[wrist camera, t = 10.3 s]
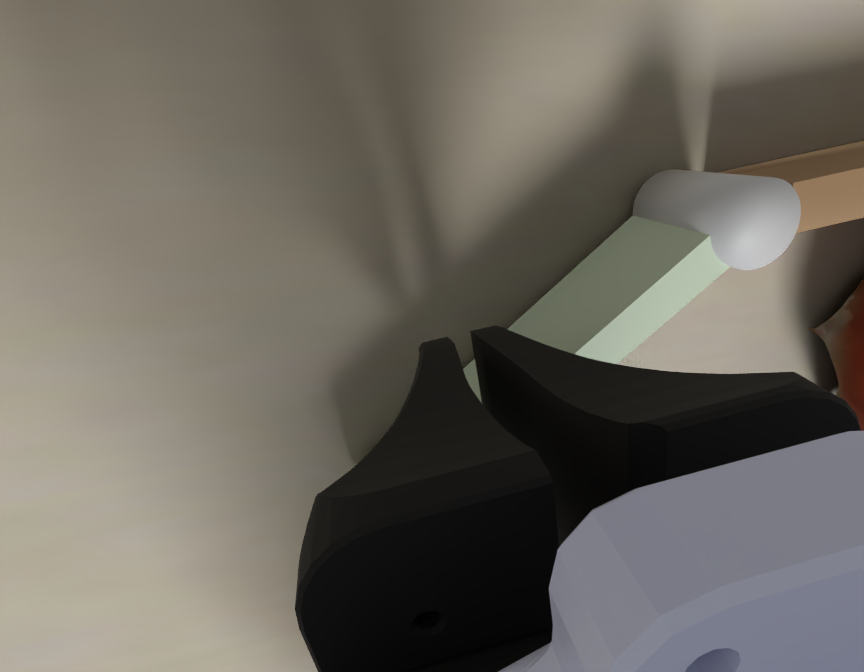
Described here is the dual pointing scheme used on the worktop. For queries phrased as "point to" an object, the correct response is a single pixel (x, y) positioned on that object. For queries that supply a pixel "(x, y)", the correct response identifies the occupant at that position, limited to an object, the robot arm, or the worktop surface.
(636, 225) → the gate
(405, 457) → the robot arm
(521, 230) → the worktop surface
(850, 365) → the fruit
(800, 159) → the cradle
